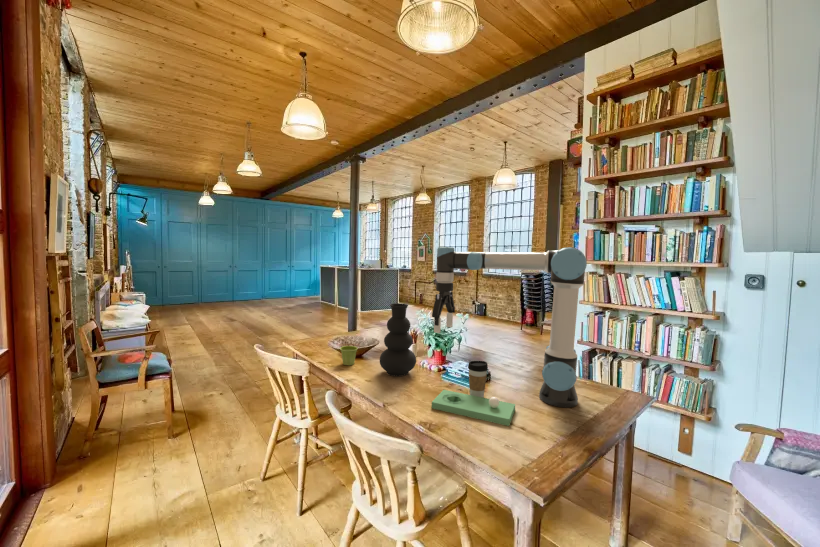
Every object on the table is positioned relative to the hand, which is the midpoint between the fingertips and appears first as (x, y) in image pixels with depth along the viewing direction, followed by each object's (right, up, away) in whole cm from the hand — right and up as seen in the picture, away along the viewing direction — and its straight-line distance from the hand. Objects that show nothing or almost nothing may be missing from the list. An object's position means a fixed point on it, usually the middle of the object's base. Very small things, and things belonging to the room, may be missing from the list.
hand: (443, 329), depth 155 cm
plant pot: (-48, -24, +34) cm, 64 cm away
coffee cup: (+14, -28, -4) cm, 32 cm away
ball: (+18, -25, -20) cm, 37 cm away
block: (+10, -29, -17) cm, 35 cm away
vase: (-21, -26, +21) cm, 40 cm away
